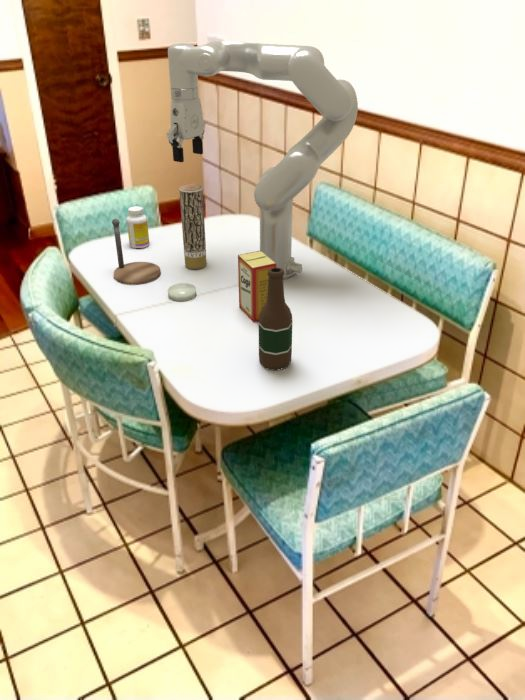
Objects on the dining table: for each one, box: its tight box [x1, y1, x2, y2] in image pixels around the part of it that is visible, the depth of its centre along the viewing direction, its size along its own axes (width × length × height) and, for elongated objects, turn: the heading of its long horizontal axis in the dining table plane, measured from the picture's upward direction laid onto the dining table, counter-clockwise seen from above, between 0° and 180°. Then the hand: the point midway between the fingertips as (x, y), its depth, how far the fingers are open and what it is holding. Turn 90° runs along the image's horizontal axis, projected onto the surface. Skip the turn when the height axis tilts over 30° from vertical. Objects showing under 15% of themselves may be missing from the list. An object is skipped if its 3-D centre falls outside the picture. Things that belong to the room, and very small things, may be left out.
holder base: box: [111, 218, 162, 286], centre depth 190 cm, size 14×14×17 cm
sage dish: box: [167, 283, 197, 302], centre depth 182 cm, size 8×8×2 cm
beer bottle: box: [258, 267, 293, 371], centre depth 145 cm, size 8×8×24 cm
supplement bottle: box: [126, 205, 150, 249], centre depth 211 cm, size 7×7×13 cm
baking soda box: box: [237, 250, 276, 323], centre depth 169 cm, size 10×6×16 cm
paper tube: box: [178, 183, 208, 270], centre depth 193 cm, size 7×7×25 cm
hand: (188, 157), depth 182 cm, fingers open, 9 cm apart
